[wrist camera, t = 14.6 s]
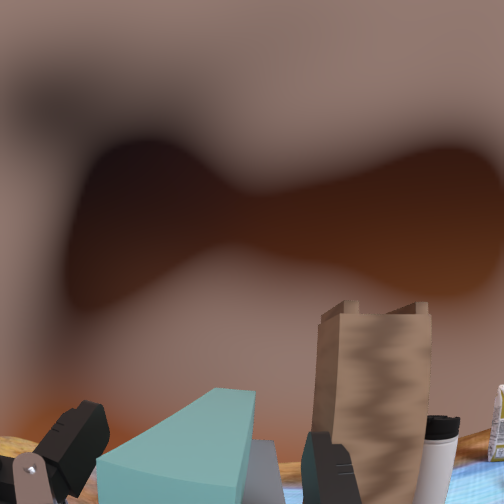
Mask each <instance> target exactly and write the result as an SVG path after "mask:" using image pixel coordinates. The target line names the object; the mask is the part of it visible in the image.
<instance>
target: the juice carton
mask: <svg viewBox="0 0 504 504" xmlns="http://www.w3.org/2000/svg"><path fill="white" fill-rule="evenodd" d="M496 461H504V385H499V387H498V391H497V394H496V398H495V404H494V413H493V421H492V428H491V435H490V441H489V447H488V462H496Z"/></svg>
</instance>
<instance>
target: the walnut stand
mask: <svg viewBox="0 0 504 504" xmlns="http://www.w3.org/2000/svg"><path fill="white" fill-rule="evenodd" d="M430 374H431V314H428V302H415V303H412V304H410V305H407V306H405V307H402V308H400V309H397V310H394V311H392V312H389V313H386V314H359V301H345V300H344V301H342V302H341V303H340V304H338V305H336V306H335V307H333V308H332V309H331V310H329V311H327V312H326V313H324V314H323V315H321V324H319V325H318V342H317V362H316V378H315V393H314V405H313V417H312V429H311V432H321V431H328V432H329V433H330V436H331V441H332V444H342V445H343V446H344V447H345V448H346V450H347V451H348V452H349V453H350V457H351V461H352V465H353V469H354V474H355V477H356V481H357V485H358V489H359V493H360V497H361V502H362V504H412V502H413V498H414V494H415V489H416V485H417V480H418V475H419V469H420V464H421V458H422V452H423V445H424V438H425V431H426V423H427V413H428V403H429V402H428V401H429V390H430ZM303 504H304V498H303Z"/></svg>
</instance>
